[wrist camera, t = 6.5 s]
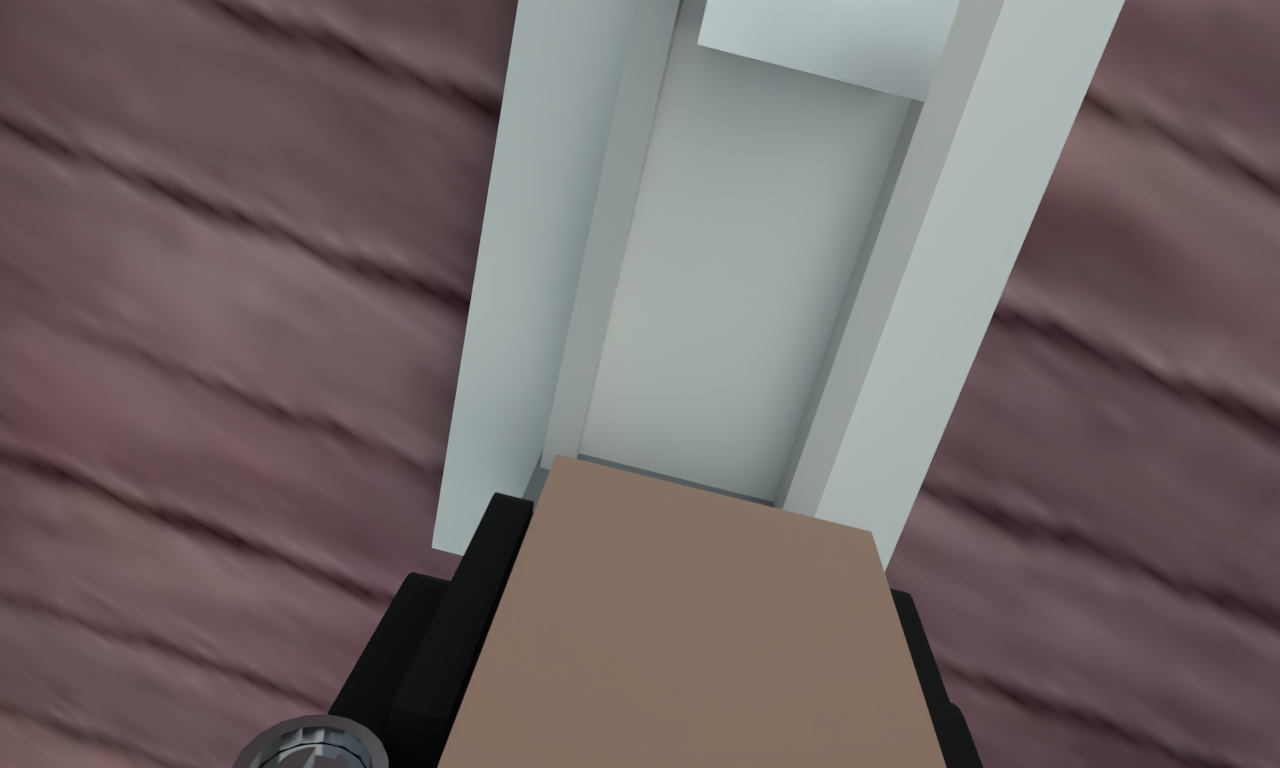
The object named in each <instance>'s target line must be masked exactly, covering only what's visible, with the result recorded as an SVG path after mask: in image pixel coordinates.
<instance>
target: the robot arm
mask: <svg viewBox="0 0 1280 768" xmlns="http://www.w3.org/2000/svg"><path fill="white" fill-rule="evenodd" d="M533 507H534V501H530V500H526V499H522V498H518V497H514V496H510V495H506V494H502V493H498V492H495V493H494V495H493V496H492V498H491V500H490V502H489V504H488V507H487V509H486V511H485V513H484V515H483V517H482V519H481V521H480V523H479V525H478V527H477V529H476V531H475V533H474V535H473V537H472V539H471V541H470V544H469V546H468V548H467V550H466V552H465V554H464V556H463V558H462V560H461V562H460V564H459V566H458V568H457V570H456V572H455V574H454V576H453V578H452V581H447V580H443V579H439V578H435V577H431V576H427V575H422V574H418V573H414V572H411V573H410V574H408V576H407V577H406V579H405V580H404V582H403V583H402V585H401V587H400V589H399V590H398V592H397V594H396V595H395V597H394V599H393V601H392V602H391V604H390V606H389V608H388V609H387V611H386V613H385V615H384V616H383V618H382V620H381V622H380V623H379V625H378V627H377V629H376V630H375V632H374V634H373V635H372V637H371V639H370V641H369V642H368V644H367V646H366V648H365V649H364V651H363V653H362V655H361V656H360V658H359V660H358V662H357V663H356V665H355V667H354V669H353V670H352V672H351V674H350V675H349V677H348V679H347V681H346V682H345V684H344V686H343V688H342V689H341V691H340V693H339V695H338V696H337V698H336V700H335V702H334V703H333V705H332V707H331V709H330V710H329V712H328V714H327V715H304V716H301V717H297V718H293V719H290V720H286V721H282V722H280V723H278V724H276V725H274V726H272V727H271V728H269V729H267V730H265V731H263V732H261V733H260V734H259V735H258V736H256V737H255V738H254V739H253V740H252V741H251V742H250V743H249V744H248V745H247V746H246V747H244V748H243V750H242V751H241V753H240V755H239V756H238V758H237V760H236V761H235V763H234V765H233V766H232V768H437V767H438V764H439V761H440V759H441V756H442V754H443V751H444V748H445V746H446V743H447V740H448V738H449V735H450V733H451V730H452V727H453V725H454V722H455V719H456V717H457V714H458V711H459V709H460V706H461V704H462V701H463V698H464V696H465V693H466V690H467V688H468V685H469V682H470V680H471V677H472V675H473V672H474V669H475V667H476V664H477V661H478V659H479V656H480V654H481V651H482V648H483V646H484V643H485V640H486V638H487V635H488V632H489V630H490V627H491V625H492V622H493V619H494V617H495V614H496V611H497V609H498V606H499V604H500V601H501V598H502V596H503V593H504V590H505V588H506V585H507V582H508V580H509V577H510V575H511V572H512V569H513V567H514V564H515V561H516V559H517V556H518V553H519V551H520V548H521V546H522V543H523V540H524V538H525V535H526V532H527V530H528V527H529V525H530V522H531V519H532V517H533V514H534V512H533ZM890 591H891V595H892V598H893V601H894V604H895V607H896V610H897V613H898V617H899V620H900V623H901V626H902V629H903V632H904V635H905V639H906V642H907V645H908V648H909V651H910V654H911V657H912V661H913V664H914V667H915V670H916V673H917V676H918V680H919V683H920V686H921V689H922V692H923V695H924V698H925V702H926V705H927V708H928V711H929V714H930V717H931V720H932V724H933V727H934V730H935V733H936V736H937V739H938V742H939V746H940V749H941V752H942V755H943V758H944V761H945V765H946V768H983V766H982V764H981V761H980V758H979V756H978V753H977V750H976V748H975V745H974V742H973V740H972V737H971V734H970V732H969V729H968V726H967V724H966V721H965V718H964V716H963V714H962V712H961V711H960V709H959V708H958V707H957V706H956V705H954V704H953V703H950V701H949V698H948V695H947V693H946V690H945V687H944V684H943V682H942V679H941V676H940V673H939V671H938V668H937V665H936V662H935V659H934V657H933V654H932V651H931V648H930V646H929V643H928V640H927V637H926V635H925V632H924V629H923V626H922V624H921V621H920V618H919V615H918V613H917V610H916V607H915V604H914V601H913V599H912V597H911V595H910V594H908V593H906V592H902V591H898V590H894V589H890Z"/></svg>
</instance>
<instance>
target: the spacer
mask: <svg viewBox="0 0 1280 768" xmlns="http://www.w3.org/2000/svg"><path fill="white" fill-rule="evenodd" d="M437 768H946V765H945V761H944V758H943V755H942V752H941V749H940V746H939V742H938V739H937V736H936V733H935V730H934V727H933V724H932V720H931V717H930V714H929V711H928V708H927V705H926V702H925V698H924V695H923V692H922V689H921V686H920V683H919V680H918V676H917V673H916V670H915V667H914V664H913V661H912V657H911V654H910V651H909V648H908V645H907V642H906V639H905V635H904V632H903V629H902V626H901V623H900V620H899V617H898V613H897V610H896V607H895V604H894V601H893V598H892V595H891V591H890V588H889V585H888V582H887V579H886V576H885V572H884V569H883V566H882V563H881V560H880V557H879V554H878V550H877V547H876V544H875V541H874V538H873V535H872V532H871V531H867V530H863V529H859V528H854V527H850V526H846V525H842V524H838V523H834V522H830V521H826V520H822V519H818V518H814V517H810V516H806V515H802V514H798V513H794V512H790V511H786V510H782V509H778V508H773V507H769V506H765V505H761V504H757V503H753V502H749V501H745V500H741V499H737V498H733V497H729V496H725V495H721V494H717V493H713V492H709V491H705V490H701V489H696V488H692V487H688V486H684V485H680V484H676V483H672V482H668V481H664V480H660V479H656V478H652V477H648V476H644V475H640V474H636V473H632V472H628V471H624V470H620V469H615V468H611V467H607V466H603V465H599V464H595V463H591V462H587V461H583V460H579V459H575V458H571V457H567V456H563V455H559V454H556V456H555V459H554V461H553V464H552V467H551V469H550V472H549V474H548V477H547V480H546V482H545V485H544V488H543V490H542V493H541V496H540V498H539V501H538V503H537V506H536V509H535V511H534V514H533V517H532V519H531V522H530V525H529V527H528V530H527V532H526V535H525V538H524V540H523V543H522V546H521V548H520V551H519V553H518V556H517V559H516V561H515V564H514V567H513V569H512V572H511V575H510V577H509V580H508V582H507V585H506V588H505V590H504V593H503V596H502V598H501V601H500V604H499V606H498V609H497V611H496V614H495V617H494V619H493V622H492V625H491V627H490V630H489V632H488V635H487V638H486V640H485V643H484V646H483V648H482V651H481V654H480V656H479V659H478V661H477V664H476V667H475V669H474V672H473V675H472V677H471V680H470V682H469V685H468V688H467V690H466V693H465V696H464V698H463V701H462V704H461V706H460V709H459V711H458V714H457V717H456V719H455V722H454V725H453V727H452V730H451V733H450V735H449V738H448V740H447V743H446V746H445V748H444V751H443V754H442V756H441V759H440V761H439V764H438V767H437Z"/></svg>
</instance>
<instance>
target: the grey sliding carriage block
mask: <svg viewBox="0 0 1280 768" xmlns="http://www.w3.org/2000/svg"><path fill="white" fill-rule="evenodd" d="M959 3H960V0H707V4H706V8H705V13H704V17H703V21H702V25H701V29H700V33H699V38H698V42H697V45H701V46H705V47H709V48H713V49H717V50H721V51H725V52H729V53H733V54H737V55H741V56H745V57H749V58H753V59H757V60H761V61H764V62H768V63H772V64H776V65H780V66H784V67H788V68H792V69H796V70H800V71H804V72H808V73H812V74H816V75H820V76H824V77H828V78H832V79H836V80H840V81H843V82H847V83H851V84H855V85H859V86H863V87H867V88H871V89H875V90H879V91H883V92H887V93H891V94H895V95H899V96H903V97H907V98H911V99H915V100H919V101H923V102H925V101H926V98H927V95H928V92H929V89H930V86H931V83H932V81H933V78H934V75H935V72H936V69H937V66H938V63H939V60H940V58H941V55H942V52H943V49H944V46H945V43H946V40H947V38H948V35H949V32H950V29H951V26H952V23H953V20H954V18H955V15H956V12H957V9H958V6H959Z"/></svg>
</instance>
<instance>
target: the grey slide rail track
mask: <svg viewBox="0 0 1280 768" xmlns="http://www.w3.org/2000/svg"><path fill="white" fill-rule="evenodd" d="M1124 1H1125V0H960V3H959V6H958V9H957V12H956V15H955V18H954V20H953V23H952V26H951V29H950V32H949V35H948V38H947V40H946V43H945V46H944V49H943V52H942V55H941V58H940V60H939V63H938V66H937V69H936V72H935V75H934V78H933V81H932V83H931V86H930V89H929V92H928V95H927V98H926V101H925V102H923V101H919V100H915V99H911V98H907V97H903V96H899V95H895V94H891V93H887V92H883V91H879V90H875V89H871V88H867V87H863V86H859V85H855V84H851V83H847V82H843V81H840V80H836V79H832V78H828V77H824V76H820V75H816V74H812V73H808V72H804V71H800V70H796V69H792V68H788V67H784V66H780V65H776V64H772V63H768V62H764V61H761V60H757V59H753V58H749V57H745V56H741V55H737V54H733V53H729V52H725V51H721V50H717V49H713V48H709V47H705V46H701V45H697V42H698V38H699V33H700V29H701V25H702V21H703V17H704V13H705V8H706V4H707V0H519V1H518V7H517V13H516V20H515V26H514V32H513V38H512V45H511V51H510V57H509V64H508V70H507V76H506V83H505V89H504V95H503V101H502V108H501V114H500V120H499V127H498V133H497V139H496V145H495V152H494V158H493V164H492V171H491V177H490V183H489V189H488V196H487V202H486V208H485V215H484V221H483V227H482V233H481V240H480V246H479V252H478V259H477V265H476V271H475V278H474V284H473V290H472V296H471V303H470V309H469V315H468V322H467V328H466V334H465V340H464V347H463V353H462V359H461V366H460V372H459V378H458V384H457V391H456V397H455V403H454V410H453V416H452V422H451V428H450V435H449V441H448V447H447V454H446V460H445V466H444V473H443V479H442V485H441V491H440V498H439V504H438V510H437V517H436V523H435V529H434V535H433V542H432V548H435V549H439V550H443V551H446V552H450V553H454V554H458V555H462V556H464V554H465V552H466V550H467V548H468V546H469V544H470V541H471V539H472V537H473V535H474V533H475V531H476V529H477V527H478V525H479V523H480V521H481V519H482V517H483V515H484V513H485V511H486V509H487V507H488V504H489V502H490V500H491V498H492V496H493V495H494V493H495V492H498V493H502V494H506V495H510V496H514V497H518V498H522V499H526V500H530V501H534V507H533V512H534V511H535V509H536V506H537V503H538V501H539V498H540V496H541V493H542V490H543V488H544V485H545V482H546V480H547V477H548V474H549V472H550V469H551V467H552V464H553V461H554V459H555V456H556V454H559V455H563V456H567V457H571V458H575V459H579V460H583V461H587V462H591V463H595V464H599V465H603V466H607V467H611V468H615V469H620V470H624V471H628V472H632V473H636V474H640V475H644V476H648V477H652V478H656V479H660V480H664V481H668V482H672V483H676V484H680V485H684V486H688V487H692V488H696V489H701V490H705V491H709V492H713V493H717V494H721V495H725V496H729V497H733V498H737V499H741V500H745V501H749V502H753V503H757V504H761V505H765V506H769V507H773V508H778V509H782V510H786V511H790V512H794V513H798V514H802V515H806V516H810V517H814V518H818V519H822V520H826V521H830V522H834V523H838V524H842V525H846V526H850V527H854V528H859V529H863V530H867V531H871V532H872V535H873V538H874V541H875V544H876V547H877V550H878V554H879V557H880V560H881V563H882V566H883V569H884V572H885V570H886V568H887V565H888V563H889V561H890V558H891V556H892V554H893V551H894V549H895V546H896V544H897V542H898V539H899V537H900V535H901V532H902V530H903V527H904V525H905V523H906V520H907V518H908V515H909V513H910V511H911V508H912V506H913V504H914V501H915V499H916V496H917V494H918V492H919V489H920V487H921V485H922V482H923V480H924V477H925V475H926V473H927V470H928V468H929V465H930V463H931V461H932V458H933V456H934V454H935V451H936V449H937V446H938V444H939V442H940V439H941V437H942V435H943V432H944V430H945V427H946V425H947V423H948V420H949V418H950V415H951V413H952V411H953V408H954V406H955V404H956V401H957V399H958V396H959V394H960V392H961V389H962V387H963V385H964V382H965V380H966V377H967V375H968V373H969V370H970V368H971V365H972V363H973V361H974V358H975V356H976V354H977V351H978V349H979V346H980V344H981V342H982V339H983V337H984V335H985V332H986V330H987V327H988V325H989V323H990V320H991V318H992V315H993V313H994V311H995V308H996V306H997V304H998V301H999V299H1000V296H1001V294H1002V292H1003V289H1004V287H1005V285H1006V282H1007V280H1008V277H1009V275H1010V273H1011V270H1012V268H1013V265H1014V263H1015V261H1016V258H1017V256H1018V254H1019V251H1020V249H1021V246H1022V244H1023V242H1024V239H1025V237H1026V235H1027V232H1028V230H1029V227H1030V225H1031V223H1032V220H1033V218H1034V215H1035V213H1036V211H1037V208H1038V206H1039V204H1040V201H1041V199H1042V196H1043V194H1044V192H1045V189H1046V187H1047V185H1048V182H1049V180H1050V177H1051V175H1052V173H1053V170H1054V168H1055V165H1056V163H1057V161H1058V158H1059V156H1060V154H1061V151H1062V149H1063V146H1064V144H1065V142H1066V139H1067V137H1068V135H1069V132H1070V130H1071V127H1072V125H1073V123H1074V120H1075V118H1076V115H1077V113H1078V111H1079V108H1080V106H1081V104H1082V101H1083V99H1084V96H1085V94H1086V92H1087V89H1088V87H1089V85H1090V82H1091V80H1092V77H1093V75H1094V73H1095V70H1096V68H1097V65H1098V63H1099V61H1100V58H1101V56H1102V54H1103V51H1104V49H1105V46H1106V44H1107V42H1108V39H1109V37H1110V35H1111V32H1112V30H1113V27H1114V25H1115V23H1116V20H1117V18H1118V15H1119V13H1120V11H1121V8H1122V6H1123V4H1124Z"/></svg>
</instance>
